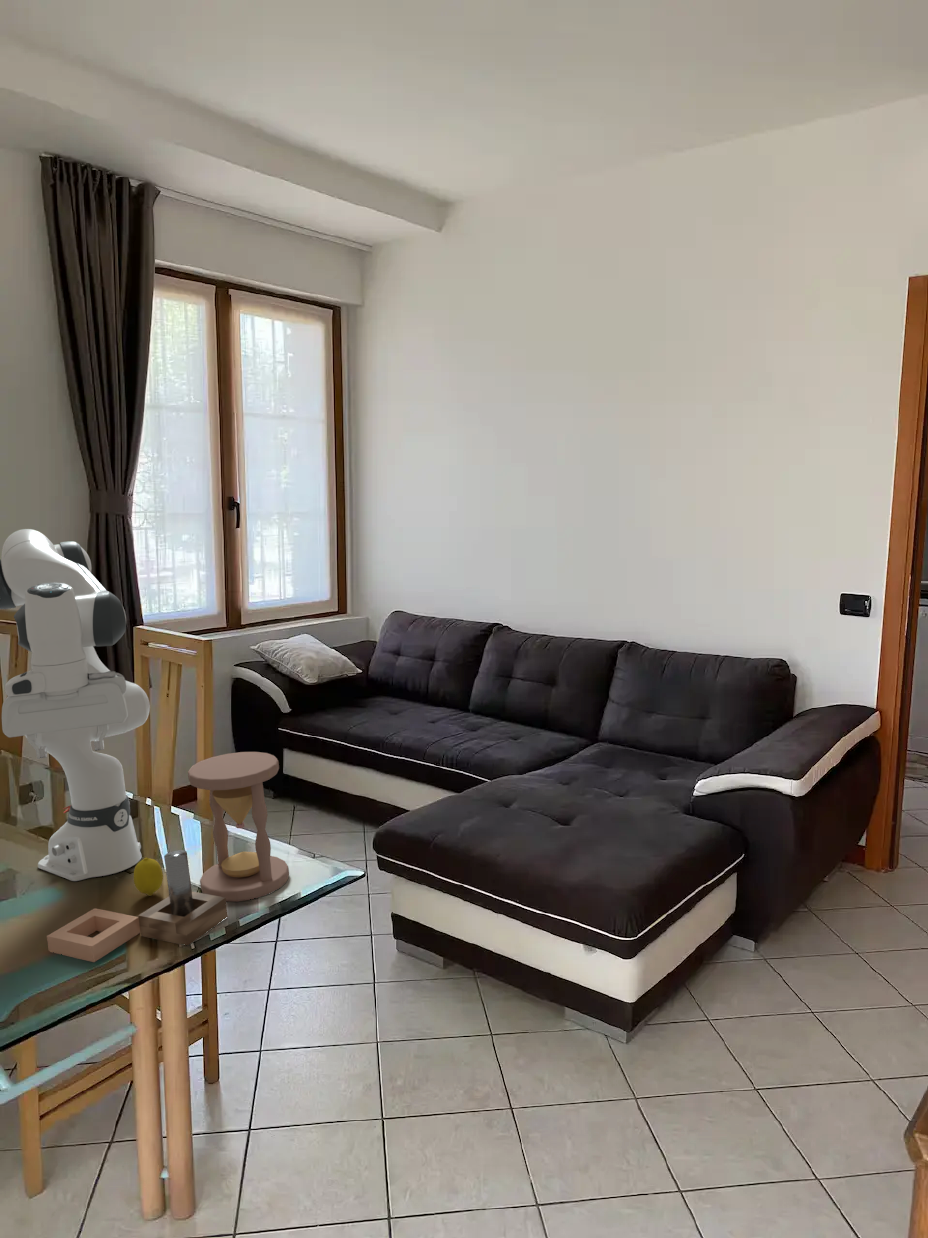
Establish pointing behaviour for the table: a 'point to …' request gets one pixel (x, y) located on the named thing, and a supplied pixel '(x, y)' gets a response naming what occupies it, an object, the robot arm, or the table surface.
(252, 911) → the table surface
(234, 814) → the hourglass
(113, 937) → the socket collar
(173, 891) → the steel peg
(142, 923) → the square peg hole block
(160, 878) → the lemon
